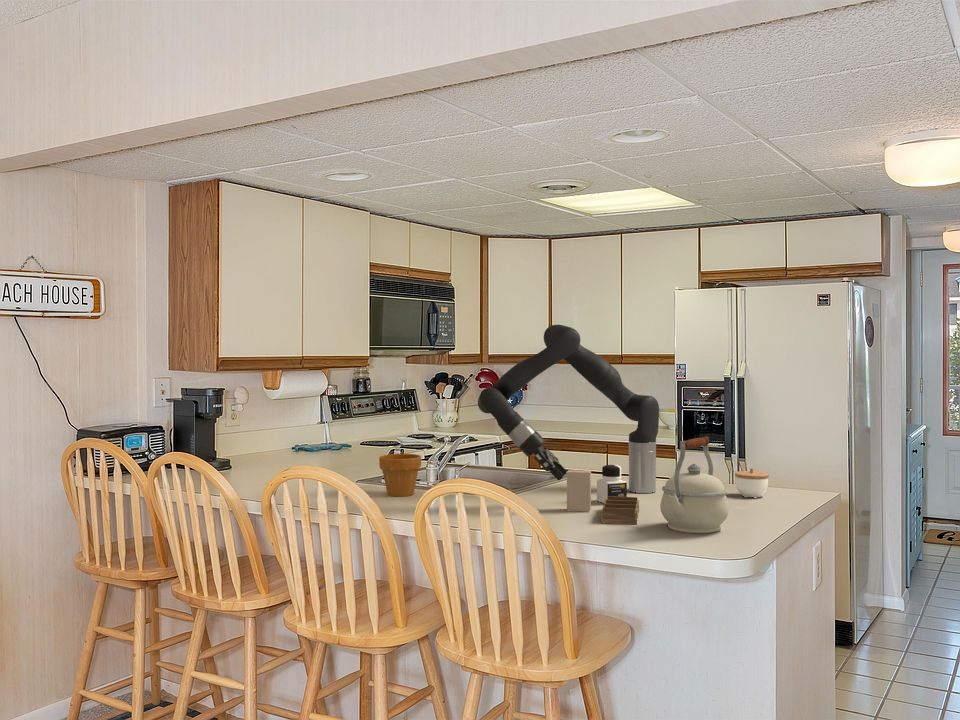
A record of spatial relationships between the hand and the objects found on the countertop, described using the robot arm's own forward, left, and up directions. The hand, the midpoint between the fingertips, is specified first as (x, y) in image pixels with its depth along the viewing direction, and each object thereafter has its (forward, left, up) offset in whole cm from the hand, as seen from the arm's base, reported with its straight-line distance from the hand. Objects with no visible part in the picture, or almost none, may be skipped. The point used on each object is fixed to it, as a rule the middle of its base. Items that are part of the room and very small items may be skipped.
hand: (563, 476), depth 263 cm
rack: (+7, +18, -10) cm, 22 cm away
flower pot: (-15, -57, -11) cm, 60 cm away
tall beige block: (0, +5, -10) cm, 11 cm away
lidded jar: (-36, +59, -11) cm, 70 cm away
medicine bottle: (-15, +14, -11) cm, 23 cm away
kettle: (+20, +38, -11) cm, 44 cm away
